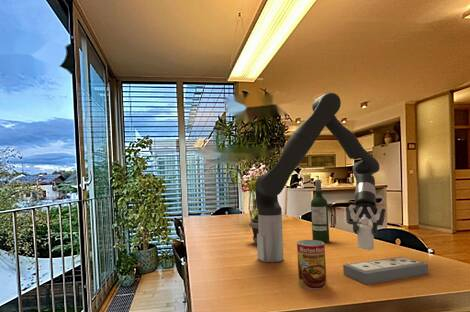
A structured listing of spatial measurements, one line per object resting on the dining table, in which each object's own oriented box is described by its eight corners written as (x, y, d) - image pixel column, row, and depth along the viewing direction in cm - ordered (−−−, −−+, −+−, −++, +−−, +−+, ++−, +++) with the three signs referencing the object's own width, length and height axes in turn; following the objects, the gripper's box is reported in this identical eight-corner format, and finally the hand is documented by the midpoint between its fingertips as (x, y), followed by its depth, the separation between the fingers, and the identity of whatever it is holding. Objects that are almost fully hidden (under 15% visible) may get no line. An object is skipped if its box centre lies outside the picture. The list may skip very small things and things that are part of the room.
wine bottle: (313, 243, 144) (310, 180, 146) (312, 239, 152) (309, 179, 154) (330, 243, 143) (327, 179, 145) (328, 239, 150) (325, 179, 153)
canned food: (302, 289, 84) (301, 245, 85) (295, 280, 92) (294, 240, 93) (330, 288, 84) (328, 244, 85) (321, 279, 92) (319, 239, 93)
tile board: (366, 284, 87) (365, 272, 87) (343, 274, 96) (343, 263, 97) (428, 273, 95) (427, 263, 95) (401, 265, 104) (401, 255, 104)
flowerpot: (249, 240, 154) (248, 201, 156) (280, 240, 153) (278, 200, 155) (249, 246, 140) (248, 203, 141) (282, 246, 139) (281, 202, 140)
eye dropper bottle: (368, 246, 110) (367, 213, 111) (375, 250, 105) (373, 215, 105) (356, 246, 110) (355, 213, 111) (362, 250, 105) (361, 215, 106)
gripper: (344, 190, 119) (342, 225, 107) (385, 190, 112) (387, 227, 101) (346, 202, 123) (344, 237, 111) (386, 203, 117) (388, 240, 105)
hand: (365, 232), depth 106 cm, fingers closed on eye dropper bottle, 5 cm apart
